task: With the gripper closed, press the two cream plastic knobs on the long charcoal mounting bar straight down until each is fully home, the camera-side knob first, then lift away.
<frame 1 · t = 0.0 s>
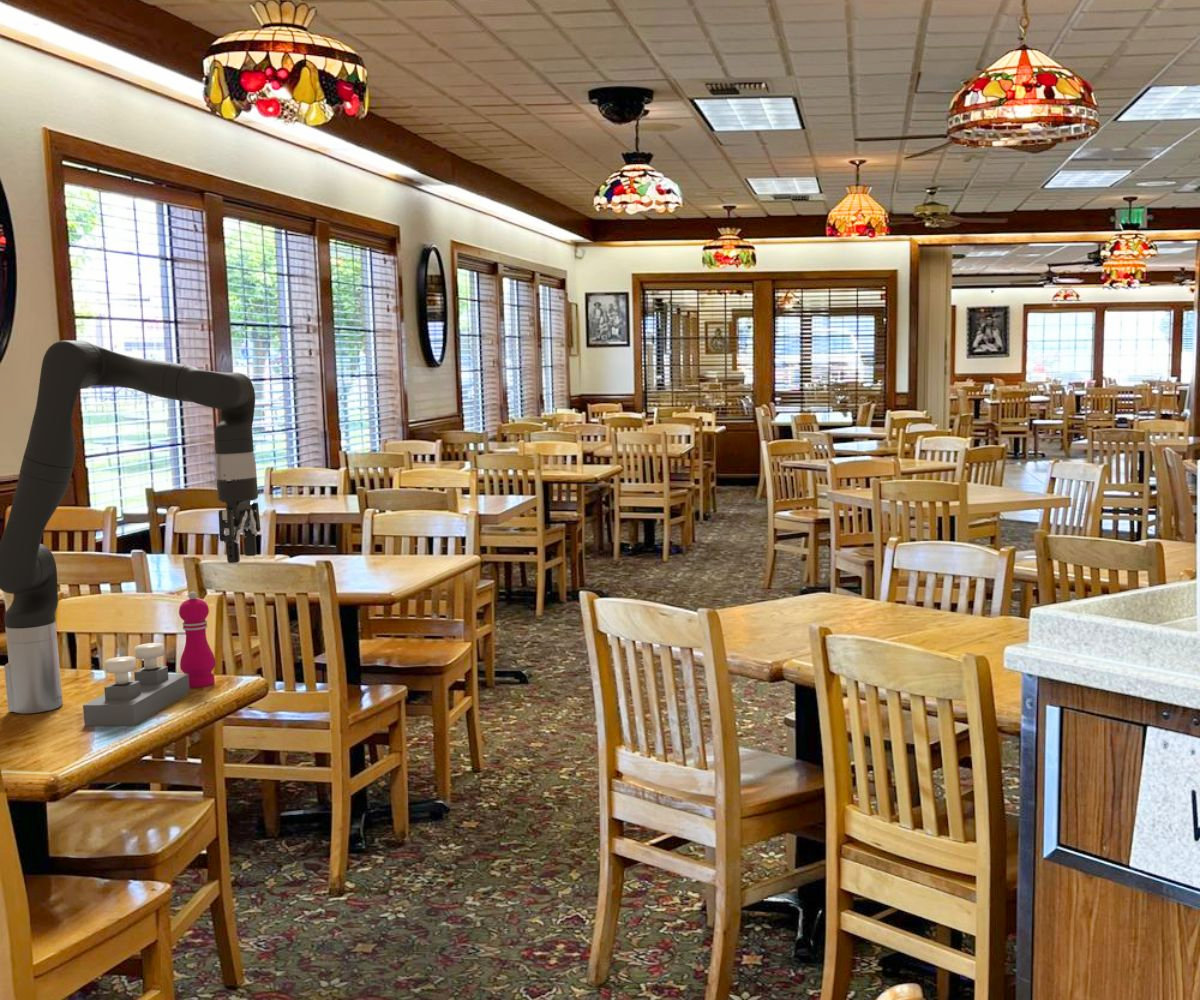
hand: (242, 559, 249), 29 cm above the table, fingers open, 8 cm apart
knob b: (149, 656, 259), point 9 cm above the table, slide at 0.0 cm
mount bar: (139, 708, 254), on the table
pepper mill: (199, 685, 272), on the table
knob a: (121, 671, 247), point 9 cm above the table, slide at 0.0 cm
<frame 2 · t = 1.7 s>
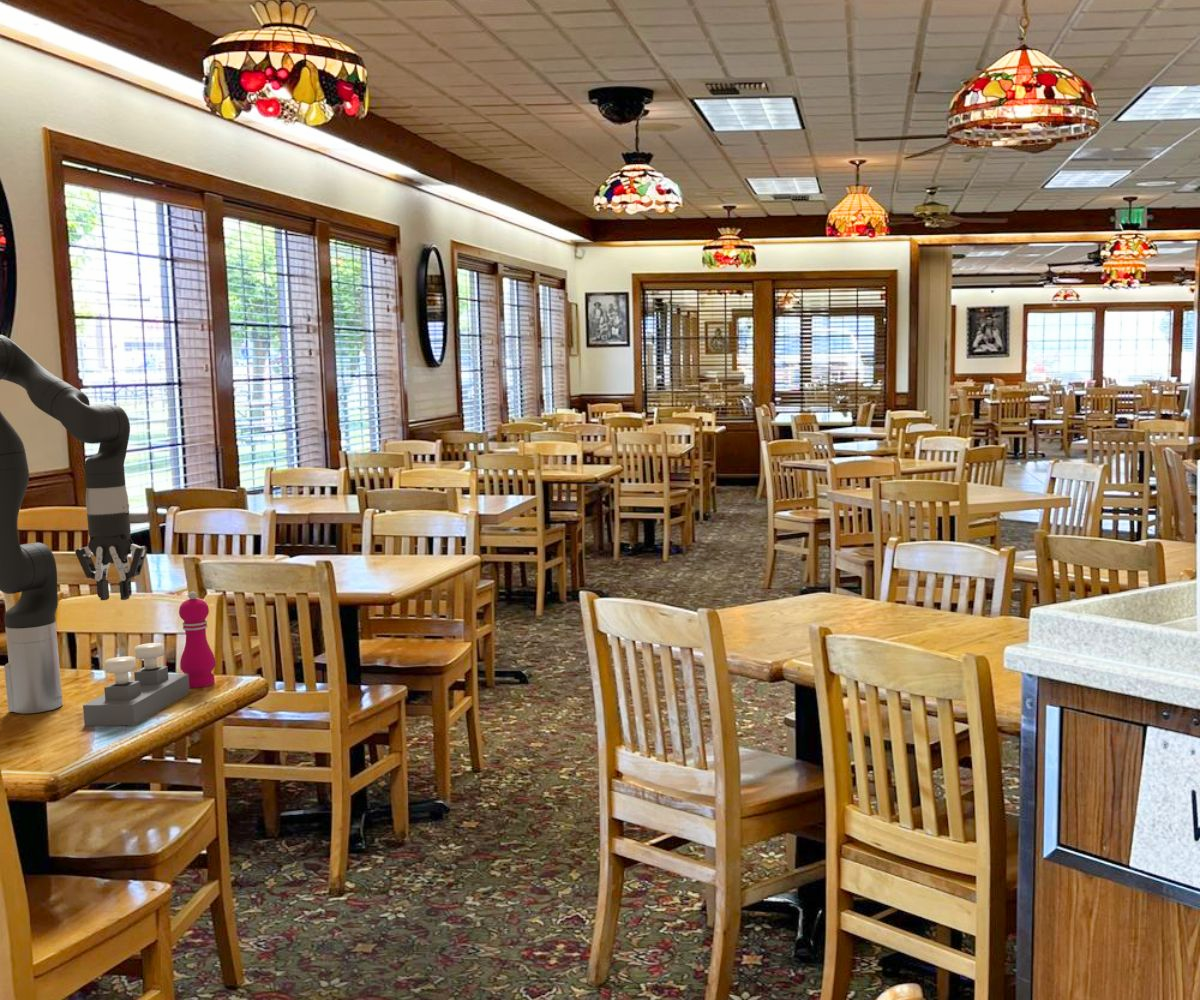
hand: (115, 599, 245), 23 cm above the table, fingers open, 3 cm apart
nothing on the table moved.
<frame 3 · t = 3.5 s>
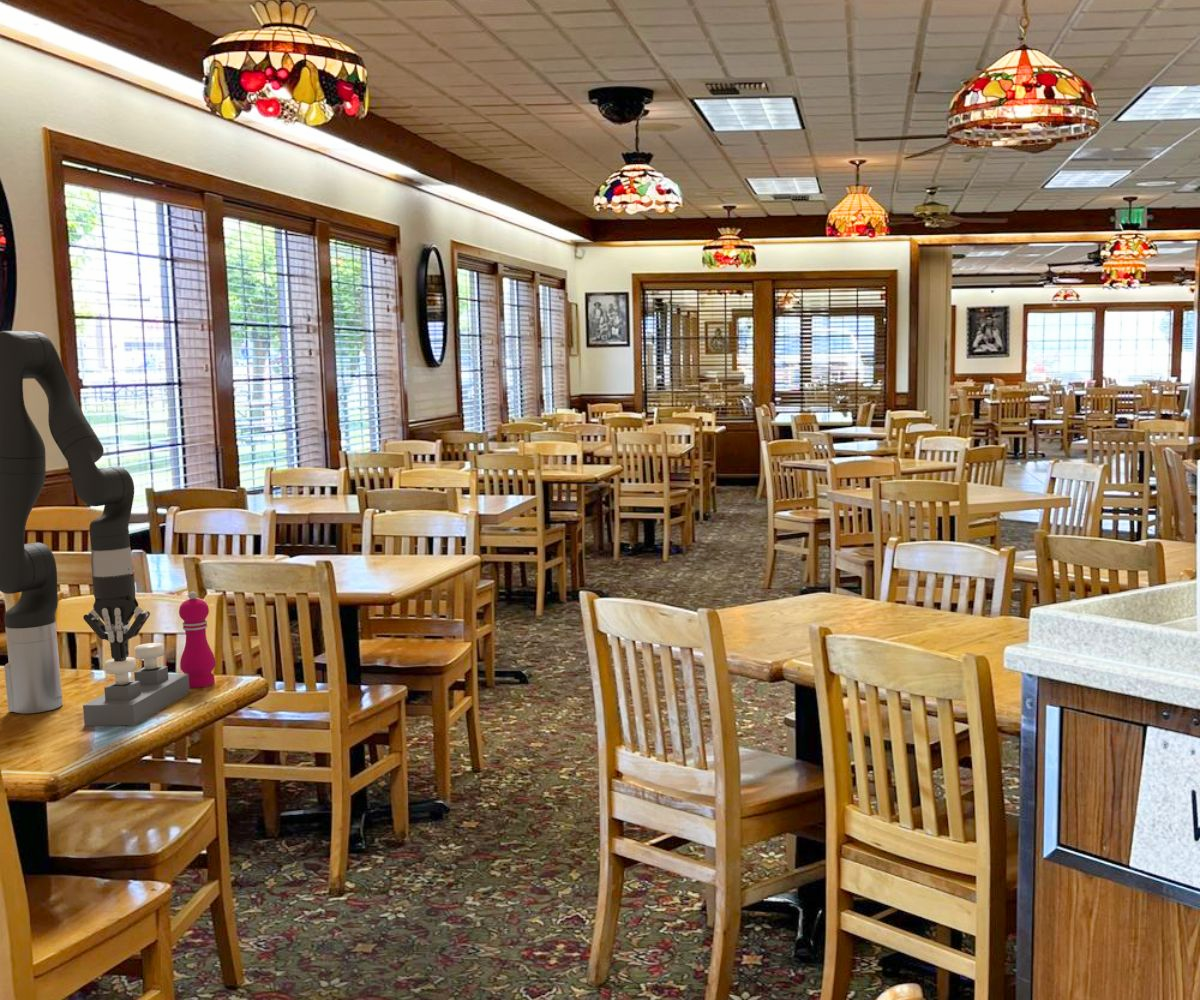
hand: (120, 660, 247), 11 cm above the table, fingers closed
knob a: (121, 671, 247), point 9 cm above the table, slide at 0.2 cm, touching gripper
everything else where it was.
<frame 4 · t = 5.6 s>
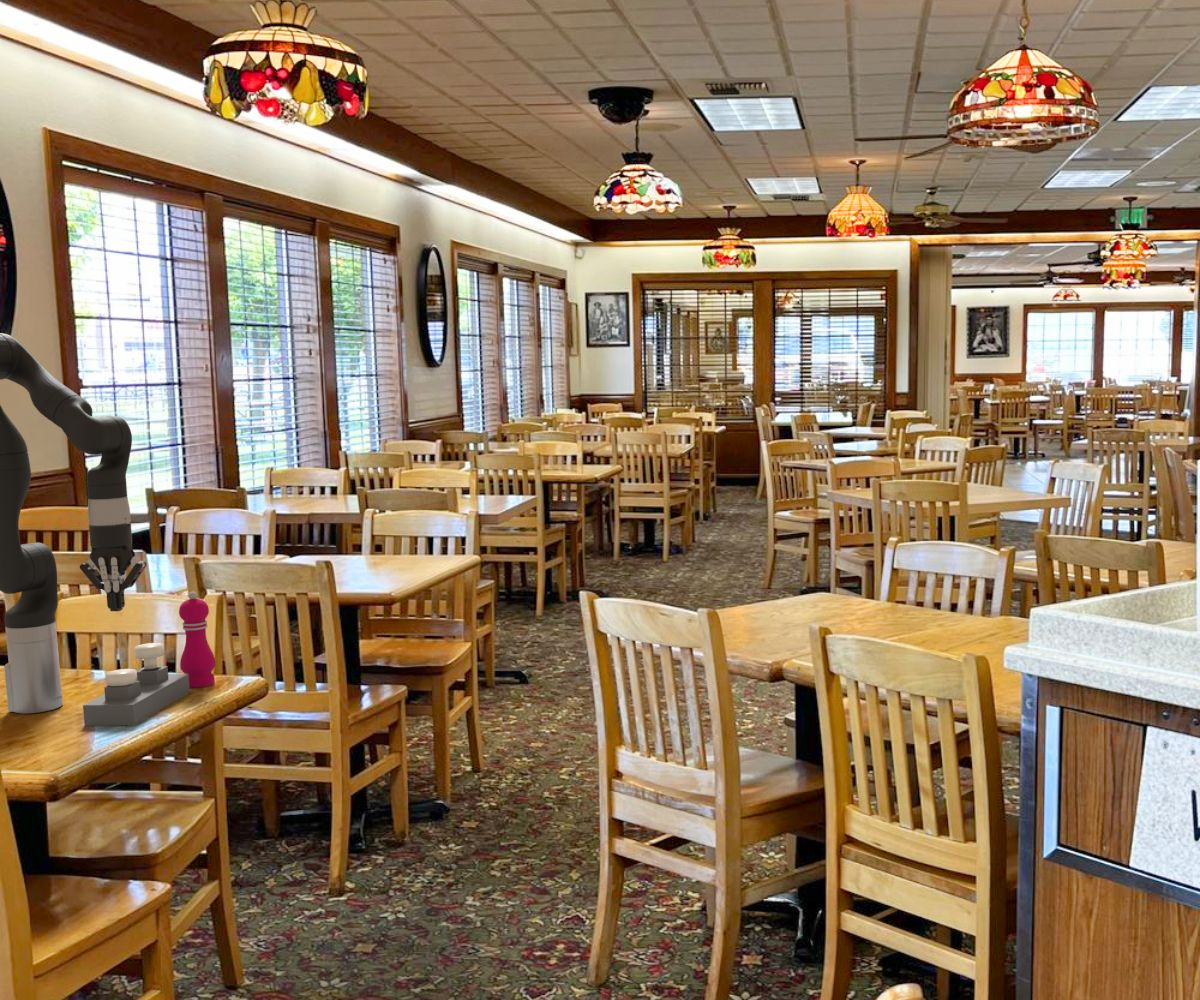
hand: (116, 610, 246), 21 cm above the table, fingers closed
knob a: (122, 683, 247), point 7 cm above the table, slide at 2.5 cm
everything else where it was.
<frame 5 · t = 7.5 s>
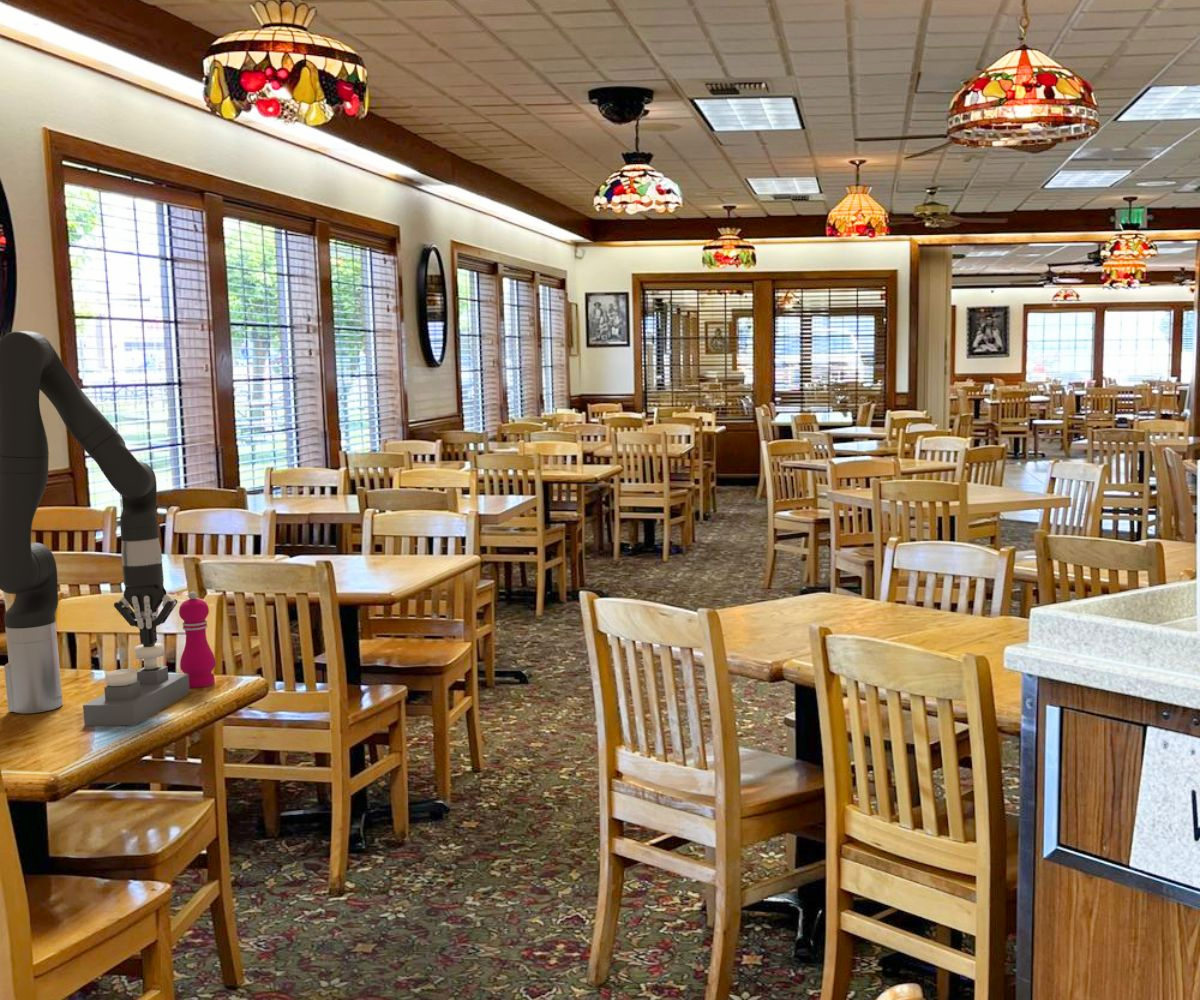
hand: (149, 646, 258), 11 cm above the table, fingers closed
knob b: (149, 657, 259), point 9 cm above the table, slide at 0.0 cm, touching gripper
everything else where it was.
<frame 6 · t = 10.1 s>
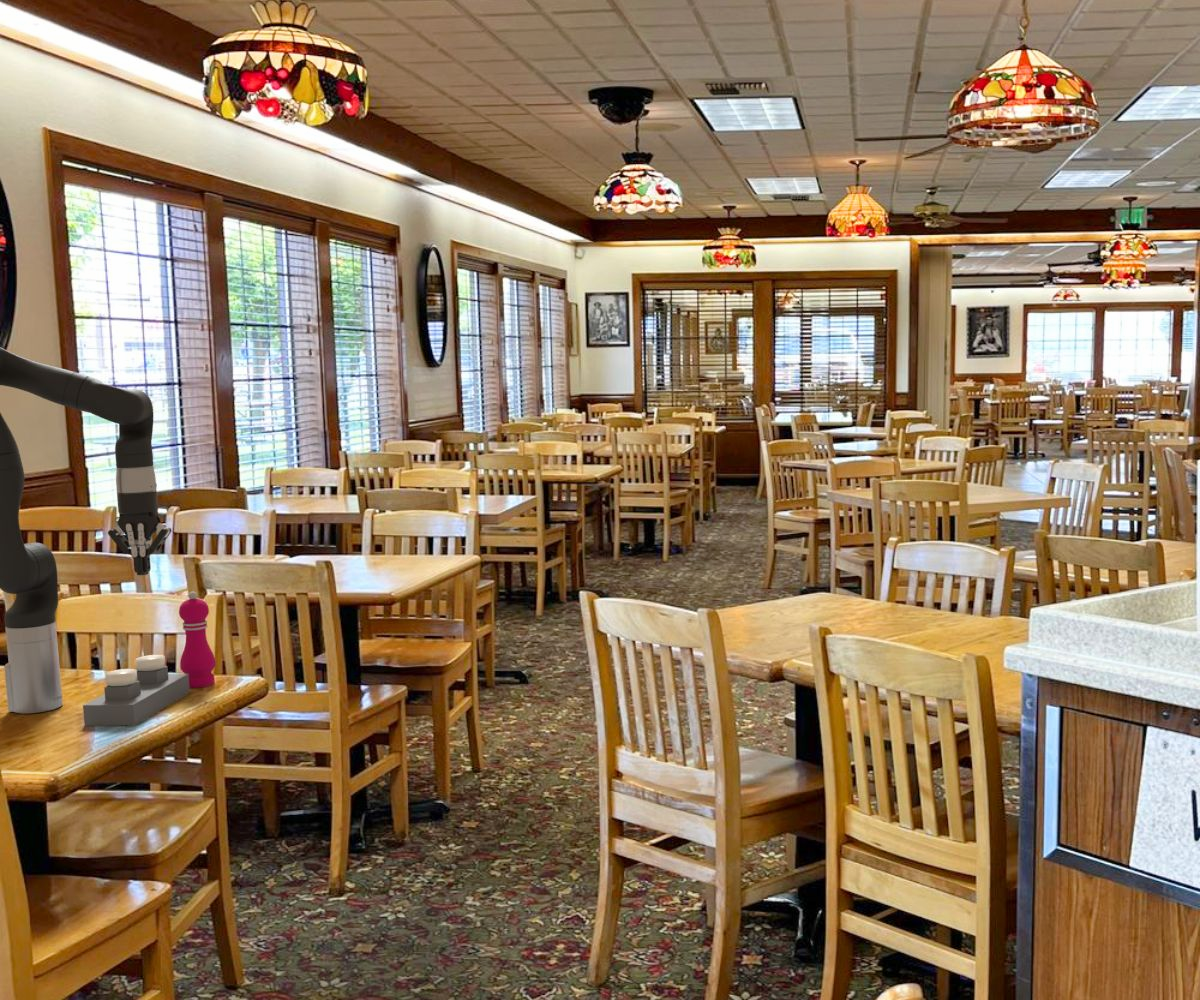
hand: (143, 574, 258), 26 cm above the table, fingers closed
knob b: (150, 668, 259), point 7 cm above the table, slide at 2.5 cm
everything else where it was.
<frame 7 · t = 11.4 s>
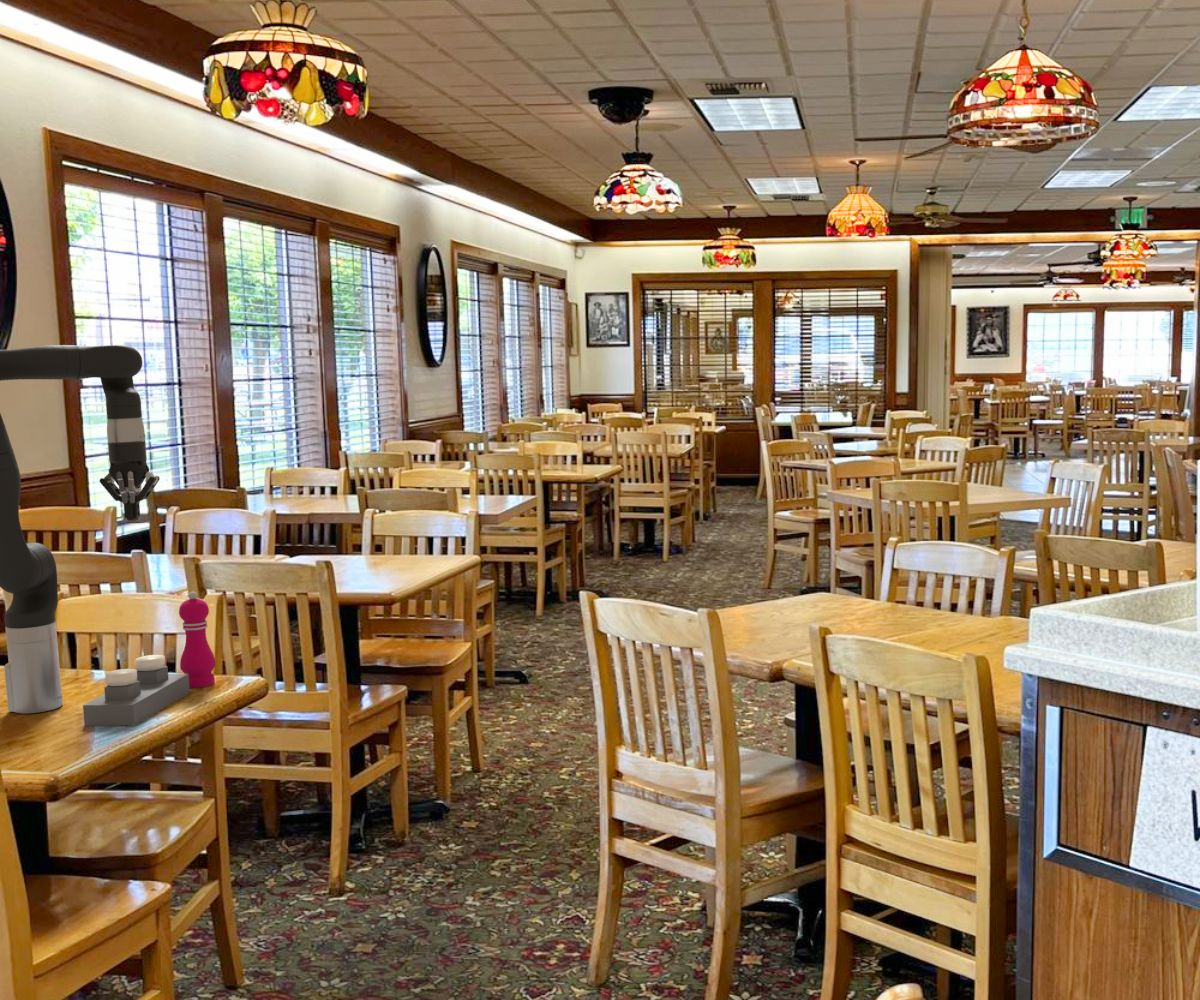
hand: (132, 520, 274), 35 cm above the table, fingers closed
nothing on the table moved.
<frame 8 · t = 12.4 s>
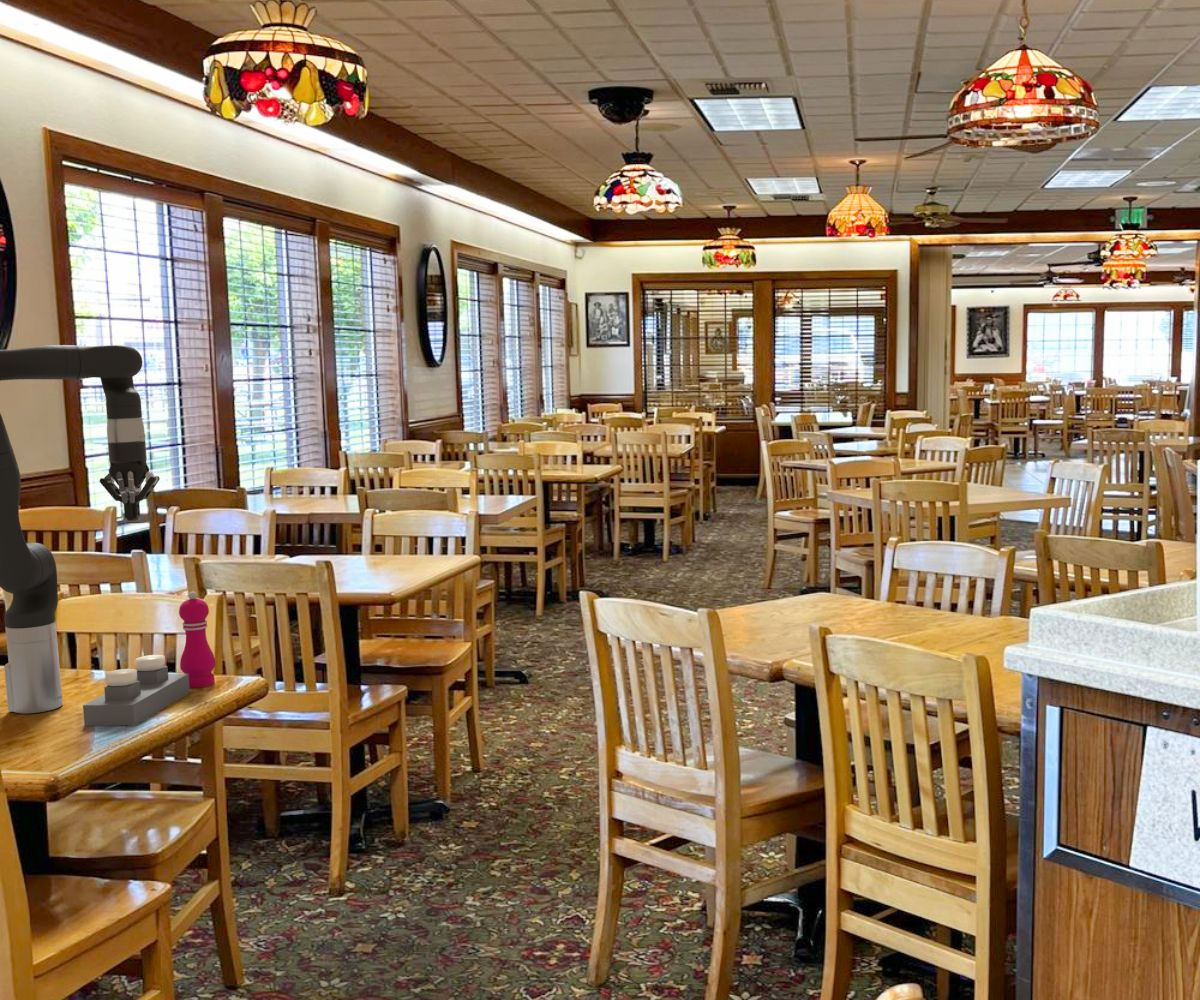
hand: (132, 520, 274), 35 cm above the table, fingers closed
nothing on the table moved.
at the end: knob a slide at 2.5 cm; knob b slide at 2.5 cm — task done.
